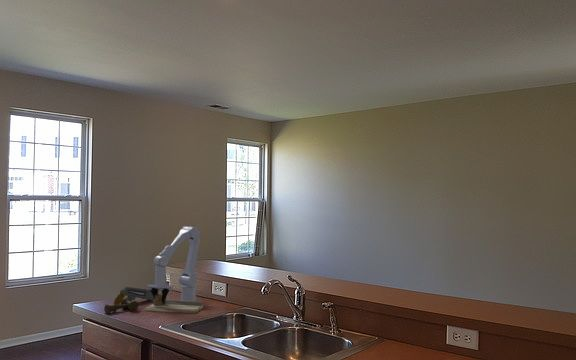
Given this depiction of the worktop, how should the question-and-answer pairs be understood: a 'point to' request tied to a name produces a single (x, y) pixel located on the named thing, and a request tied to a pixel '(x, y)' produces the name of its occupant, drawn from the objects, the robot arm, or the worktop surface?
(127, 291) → the gun
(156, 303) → the brown handled block
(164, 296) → the robot arm
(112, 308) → the kendama
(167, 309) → the board
